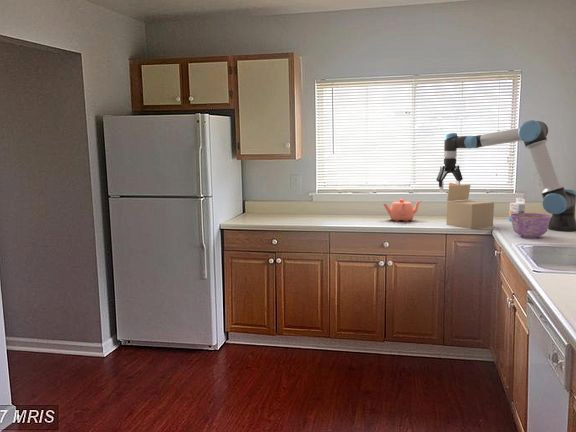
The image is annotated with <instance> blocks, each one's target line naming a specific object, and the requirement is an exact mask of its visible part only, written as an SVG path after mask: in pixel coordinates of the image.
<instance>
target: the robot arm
mask: <svg viewBox="0 0 576 432" xmlns="http://www.w3.org/2000/svg"><path fill="white" fill-rule="evenodd" d="M548 134H549V127H548V125H547V124H546V123H545V122H544V121H540V120H527V121H525V122H523V123H522V124H521V125H520V126H519V127H518V128H513V129H507V130H506V129H505V130H502V131H501V130H500V131H495V132H489V133H485V134H479V135H478V134H477V135H460V136H459V135H458V133H457V132H451V133H450V132H448V133H445V134H444V138H443V139H444V141H443V142H444V145H443V150H444V151H443V158H444V159H443V164H444V165H440V169H439V170H438V171H439V172H438V174H437V177H436V179H435V180H436V182H438V188H439V189H438V191H439V193H444V183H445V182H444V180H445V178H446V176H447V175H448V174H452V175H453V177H454V178H455V182H454V184H457V185H461V182H462V180H463V179H464V178H463V174H462V172H461V169H460V165H459V164H458V165H456V164H457V154H458V153H457V152H458V149H479V148H483V147H489V146H496V145H502V144H507V143H508V144H509V143H510V144H511V143H516V142H523V144H524V147H525V148H526V149H528V150H529V152H530V154H531V155H530V156H531V158H532V161H533V165H534V166H535V170H536V172H537V175H538V179H539V181H540V184H541V188H542V191H541V196H542V207H543V209H544V211H546V212H547V213H549V214H551V220H550V223H549V226H548V229H547V230H551V231H558V232H576V190H575V189H569V188H568V189H565V187H564V186H562V185H561V184H560V182H559V179H558V177H557V176H558V175H557V173H556V169H555V167H554V165H553V164H554V163H553V162H552V160H551V156H550V153H549V151H548V148H547V142H548V138H547V136H548Z"/></svg>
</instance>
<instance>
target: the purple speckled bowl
mask: <svg viewBox="0 0 576 432" xmlns="http://www.w3.org/2000/svg"><path fill="white" fill-rule="evenodd" d="M510 216H511V221H510V222H511V225H512V229H513V231H514V232H515V233H516V234H517V235H519V236H520V237H521V238H526V239H537V238H538V237H542V235H545V234H546V232H548V230H549V229H548V226H549V223H550V220H551V217H552V215H550V214H545V213H544V214H543V213H534V212H524V213H514V214H511V215H510Z"/></svg>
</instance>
